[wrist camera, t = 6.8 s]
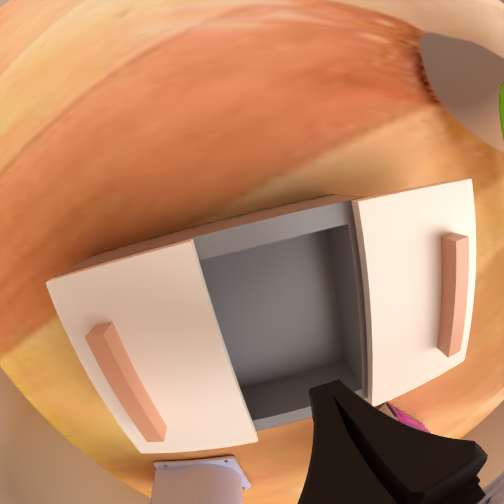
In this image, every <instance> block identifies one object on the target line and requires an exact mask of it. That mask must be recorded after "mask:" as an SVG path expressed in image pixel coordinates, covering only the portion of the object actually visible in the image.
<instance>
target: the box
mask: <svg viewBox="0 0 504 504" xmlns="http://www.w3.org/2000/svg"><path fill="white" fill-rule="evenodd" d="M362 198H364V197H356V196H345V195H333V194H331V195H326V196H322V197H317V198H312V199H308V200H303V201H299V202H294V203H290V204H285V205H281V206H277V207H272V208H268V209H264V210H260V211H255V212H251V213H247V214H243V215H239V216H235V217H231V218H227V219H223V220H219V221H215V222H211V223H207V224H203V225H200V226H196V227H192V228H188V229H184V230H181V231H177V232H173V233H170V234H166V235H162V236H159V237H155V238H151V239H148V240H144V241H141V242H137V243H134V244H130V245H127V246H124V247H120V248H117V249H113V250H110V251H107V252H103V253H100V254H97V255H94V256H90V257H88V258H86V259H84V260H83V261H81V262H79V263H77V264H75V265H74V266H72V267H70V268H68V269H67V270H65V271H63V272H61V273H60V274H58V275H56V276H55V277H57V276H61V275H64V274H67V273H71V272H74V271H77V270H81V269H84V268H87V267H91V266H94V265H98V264H101V263H105V262H108V261H112V260H115V259H119V258H122V257H126V256H129V255H133V254H137V253H140V252H144V251H148V250H151V249H155V248H159V247H162V246H166V245H170V244H174V243H177V242H181V241H185V240H189V239H193V241H194V245H195V248H196V252H197V255H198V259H199V262H200V266H201V269H202V273H203V276H204V280H205V283H206V286H207V290H208V293H209V296H210V300H211V303H212V306H213V309H214V312H215V316H216V319H217V322H218V325H219V328H220V331H221V334H222V337H223V340H224V343H225V346H226V349H227V352H228V355H229V358H230V361H231V364H232V367H233V370H234V373H235V376H236V378H237V381H238V384H239V387H240V390H241V392H242V395H243V398H244V401H245V403H246V406H247V409H248V411H249V414H250V417H251V419H252V422H253V424H254V427H255V430H256V431H258V430H263V429H267V428H272V427H276V426H280V425H284V424H288V423H292V422H296V421H300V420H303V419H307V418H310V417H312V411H311V404H310V397H309V389H310V388H312V387H316V386H319V385H322V384H326V383H329V382H332V381H335V380H338V379H339V380H341V381H342V382H343V383H345V384H346V385H347V386H348V387H349V388H350V389H351V390H353V391H354V392H355V393H356V394H358V395H359V396H360V397H361V398H363V399H366V398H368V358H367V332H366V315H365V302H364V290H363V280H362V271H361V262H360V254H359V246H358V239H357V232H356V226H355V220H354V213H353V208H352V202H351V201H352V200H357V199H362Z"/></svg>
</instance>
